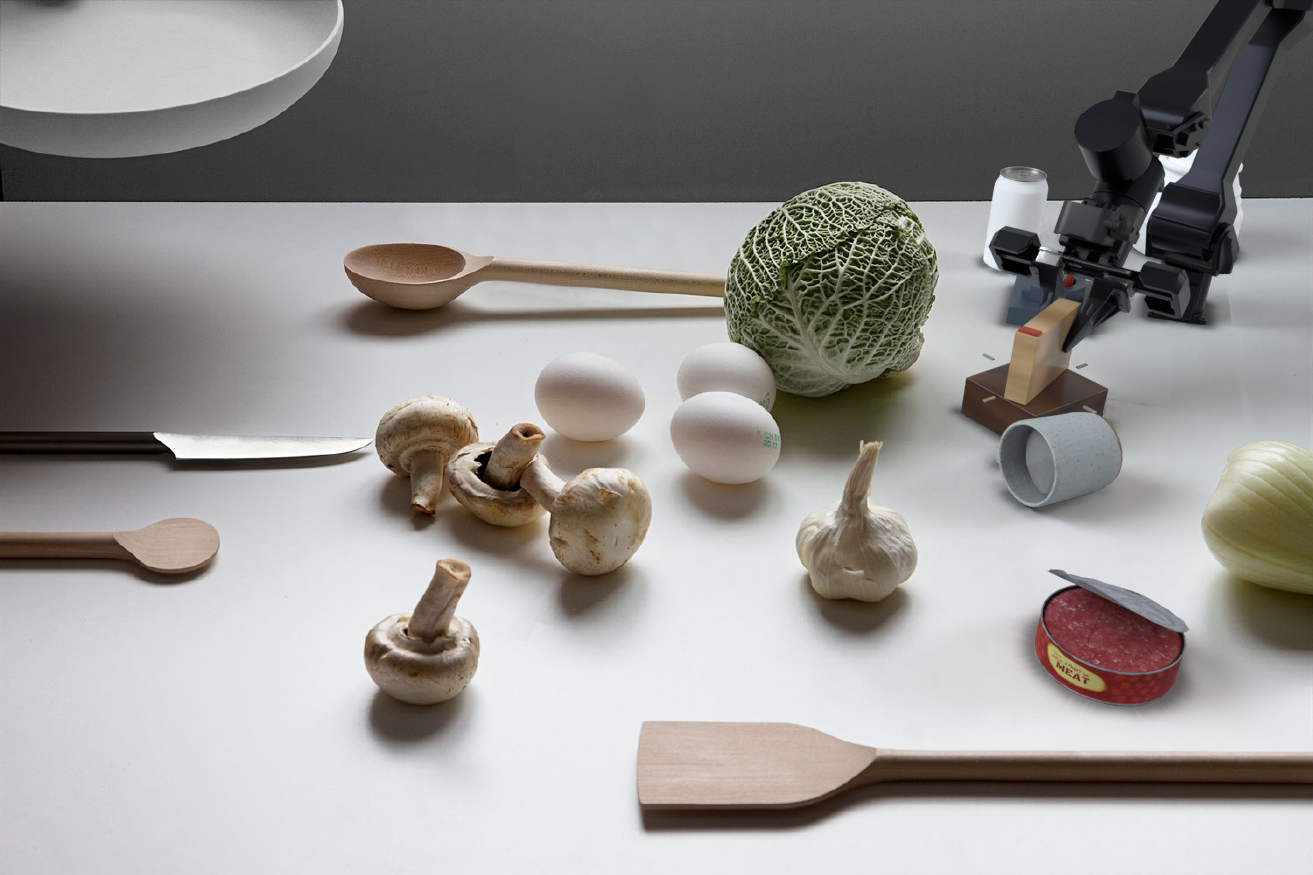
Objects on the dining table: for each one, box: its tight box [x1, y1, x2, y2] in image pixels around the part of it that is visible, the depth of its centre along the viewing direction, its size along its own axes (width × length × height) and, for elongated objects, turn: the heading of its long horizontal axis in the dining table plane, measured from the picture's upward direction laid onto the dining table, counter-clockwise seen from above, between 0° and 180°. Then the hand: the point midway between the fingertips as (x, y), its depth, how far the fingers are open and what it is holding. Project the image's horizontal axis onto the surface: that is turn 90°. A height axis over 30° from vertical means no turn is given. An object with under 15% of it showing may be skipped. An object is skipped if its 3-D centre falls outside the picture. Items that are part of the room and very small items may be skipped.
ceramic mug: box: [994, 412, 1124, 508], centre depth 100 cm, size 11×8×8 cm
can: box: [983, 166, 1049, 273], centre depth 143 cm, size 6×6×12 cm
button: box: [1063, 275, 1075, 287], centre depth 132 cm, size 4×4×2 cm
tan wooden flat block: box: [1004, 298, 1081, 405], centre depth 108 cm, size 10×2×7 cm, turn 140°
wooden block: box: [960, 352, 1109, 437], centre depth 111 cm, size 14×14×4 cm
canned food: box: [1033, 568, 1190, 707], centre depth 81 cm, size 11×10×10 cm
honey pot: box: [1132, 149, 1244, 255], centre depth 146 cm, size 13×13×18 cm
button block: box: [1005, 275, 1093, 327], centre depth 133 cm, size 11×9×4 cm
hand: (1051, 347), depth 110 cm, fingers closed on tan wooden flat block, 2 cm apart
